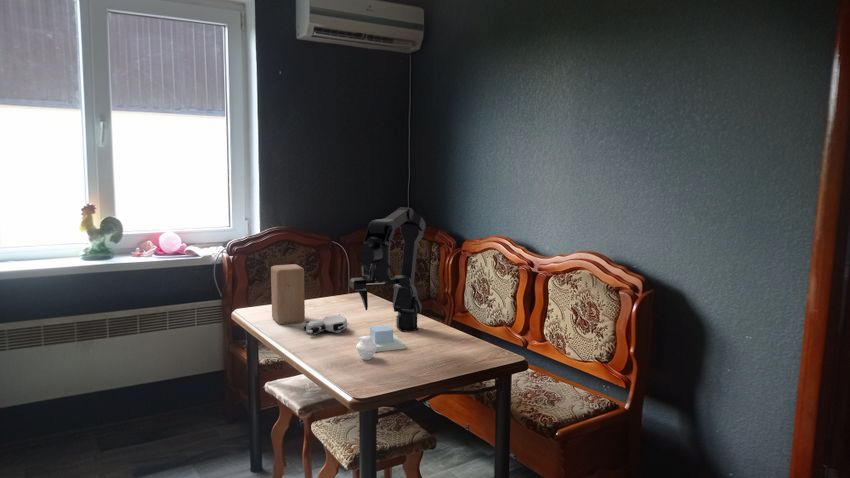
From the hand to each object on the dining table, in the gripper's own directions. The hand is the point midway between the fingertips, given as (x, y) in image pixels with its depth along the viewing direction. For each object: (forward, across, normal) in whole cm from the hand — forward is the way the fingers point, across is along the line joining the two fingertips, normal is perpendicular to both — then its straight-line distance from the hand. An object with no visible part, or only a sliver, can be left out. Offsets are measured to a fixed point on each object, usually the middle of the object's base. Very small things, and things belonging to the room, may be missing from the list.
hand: (380, 308), depth 200 cm
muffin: (+12, +7, +10) cm, 18 cm away
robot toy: (+12, +13, -22) cm, 28 cm away
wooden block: (+12, +23, -40) cm, 48 cm away
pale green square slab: (+12, -1, -1) cm, 12 cm away
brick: (+11, -1, -1) cm, 11 cm away
